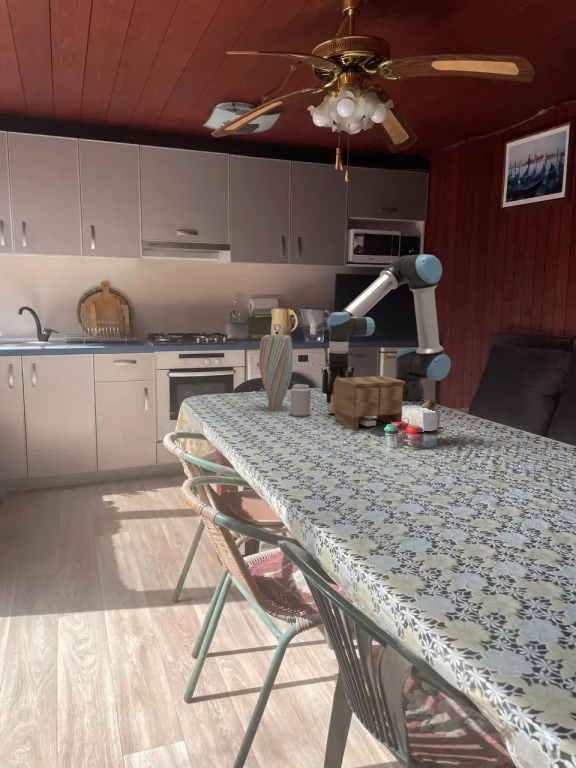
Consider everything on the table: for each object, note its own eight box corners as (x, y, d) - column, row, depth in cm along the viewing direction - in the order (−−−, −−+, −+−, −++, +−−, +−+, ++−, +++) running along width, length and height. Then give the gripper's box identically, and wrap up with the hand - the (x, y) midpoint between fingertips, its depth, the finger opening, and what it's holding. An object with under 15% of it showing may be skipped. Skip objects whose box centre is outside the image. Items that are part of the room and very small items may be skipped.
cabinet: (382, 417, 228) (383, 375, 225) (404, 426, 214) (406, 382, 211) (333, 421, 220) (335, 378, 217) (353, 431, 206) (355, 384, 203)
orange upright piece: (328, 411, 234) (328, 381, 232) (339, 410, 236) (340, 381, 234) (364, 426, 208) (365, 392, 206) (377, 425, 209) (378, 392, 208)
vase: (289, 413, 233) (290, 337, 229) (255, 411, 236) (256, 336, 231) (294, 406, 247) (295, 335, 242) (262, 404, 249) (263, 334, 244)
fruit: (437, 435, 201) (440, 401, 200) (410, 433, 204) (412, 399, 202) (440, 429, 211) (442, 396, 209) (413, 426, 214) (415, 394, 212)
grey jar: (309, 417, 226) (310, 386, 224) (290, 416, 227) (291, 386, 225) (309, 413, 234) (310, 383, 232) (290, 412, 234) (291, 383, 232)
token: (384, 432, 207) (384, 426, 206) (393, 436, 201) (394, 430, 201) (369, 433, 204) (369, 428, 204) (378, 437, 199) (379, 432, 198)
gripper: (354, 350, 236) (352, 407, 240) (313, 351, 229) (312, 409, 233) (363, 352, 229) (361, 410, 233) (322, 353, 222) (320, 413, 226)
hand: (336, 410), depth 233 cm, fingers closed on orange upright piece, 5 cm apart
